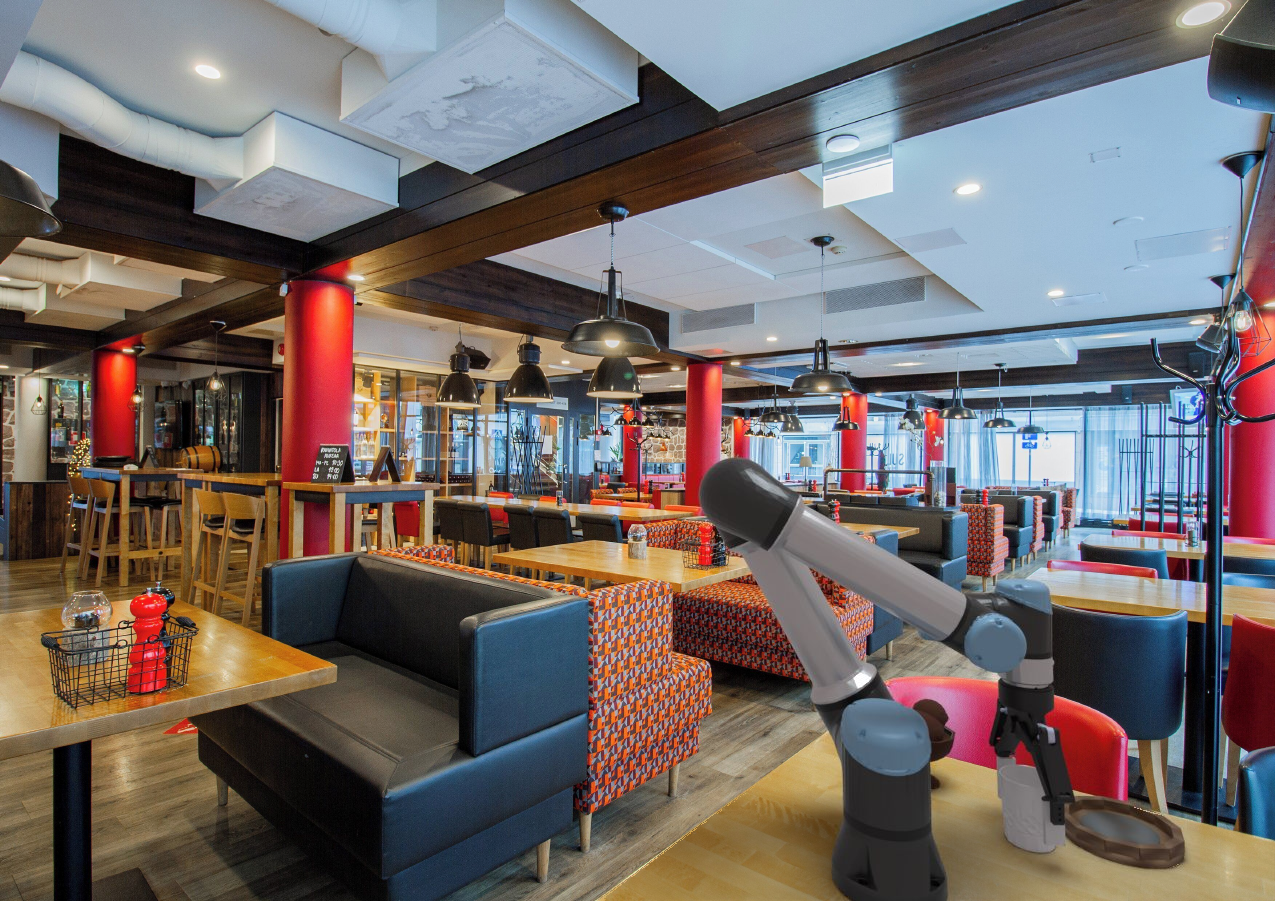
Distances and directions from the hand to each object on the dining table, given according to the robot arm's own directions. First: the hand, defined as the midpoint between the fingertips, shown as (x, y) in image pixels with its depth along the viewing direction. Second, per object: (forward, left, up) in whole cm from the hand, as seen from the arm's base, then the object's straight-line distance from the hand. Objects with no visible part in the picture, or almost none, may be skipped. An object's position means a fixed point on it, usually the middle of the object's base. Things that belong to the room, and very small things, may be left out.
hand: (1029, 819), depth 103 cm
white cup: (0, 0, -4) cm, 4 cm away
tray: (+14, +1, -3) cm, 14 cm away
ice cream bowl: (-9, +19, -3) cm, 21 cm away
